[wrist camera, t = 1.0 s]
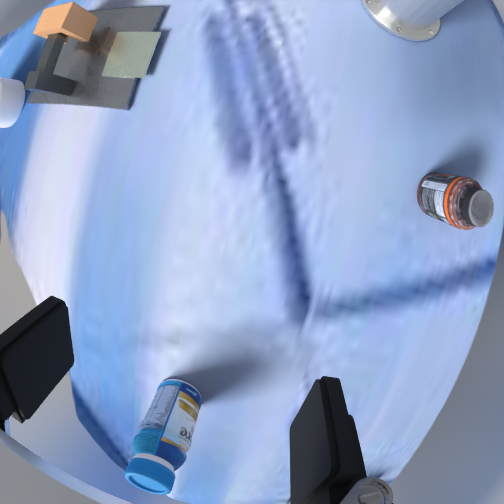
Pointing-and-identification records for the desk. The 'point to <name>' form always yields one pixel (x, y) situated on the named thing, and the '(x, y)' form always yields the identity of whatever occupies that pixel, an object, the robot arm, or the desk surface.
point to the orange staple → (66, 22)
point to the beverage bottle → (164, 437)
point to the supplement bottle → (455, 200)
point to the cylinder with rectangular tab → (10, 101)
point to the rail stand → (98, 61)
